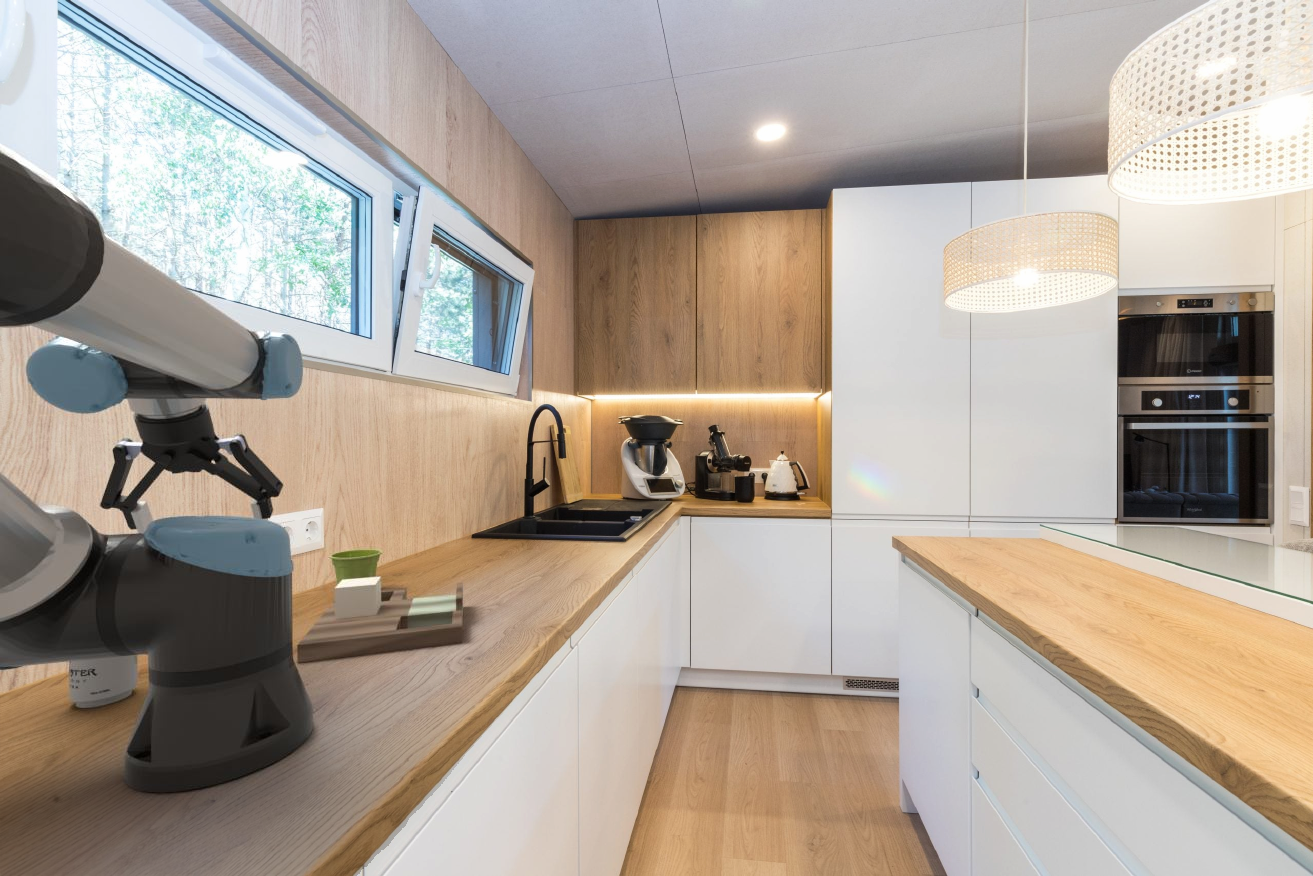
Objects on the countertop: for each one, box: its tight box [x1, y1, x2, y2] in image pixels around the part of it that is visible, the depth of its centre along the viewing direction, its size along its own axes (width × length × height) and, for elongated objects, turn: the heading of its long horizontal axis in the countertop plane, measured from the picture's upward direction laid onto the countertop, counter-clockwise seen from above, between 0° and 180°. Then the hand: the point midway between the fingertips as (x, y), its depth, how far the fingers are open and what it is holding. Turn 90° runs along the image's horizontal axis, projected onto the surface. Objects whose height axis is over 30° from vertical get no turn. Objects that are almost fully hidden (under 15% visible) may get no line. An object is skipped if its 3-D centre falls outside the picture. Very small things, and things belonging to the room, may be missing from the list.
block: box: [334, 576, 382, 619], centre depth 96 cm, size 6×6×5 cm
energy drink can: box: [68, 655, 139, 709], centre depth 70 cm, size 6×6×15 cm
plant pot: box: [329, 548, 383, 586], centre depth 115 cm, size 9×9×9 cm
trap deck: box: [296, 582, 464, 664], centre depth 97 cm, size 29×22×4 cm
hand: (210, 540), depth 83 cm, fingers open, 13 cm apart
